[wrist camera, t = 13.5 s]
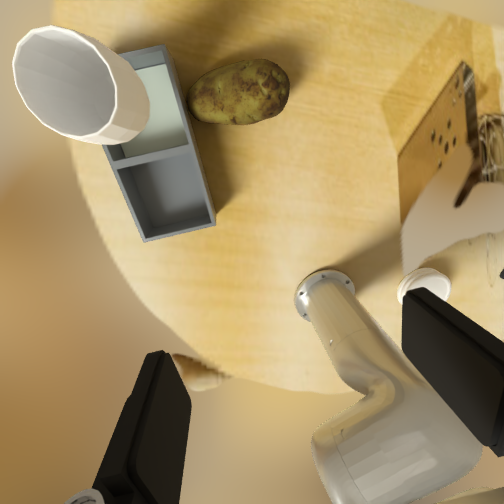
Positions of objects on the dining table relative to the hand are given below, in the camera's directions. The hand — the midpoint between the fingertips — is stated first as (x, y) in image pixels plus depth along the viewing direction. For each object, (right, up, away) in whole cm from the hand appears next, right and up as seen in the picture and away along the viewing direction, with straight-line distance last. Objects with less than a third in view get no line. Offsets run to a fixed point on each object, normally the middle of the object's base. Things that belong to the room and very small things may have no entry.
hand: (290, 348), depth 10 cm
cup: (-16, +23, +25) cm, 38 cm away
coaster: (+35, -4, +46) cm, 57 cm away
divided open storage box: (-15, +19, +29) cm, 37 cm away
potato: (-4, +26, +27) cm, 38 cm away
